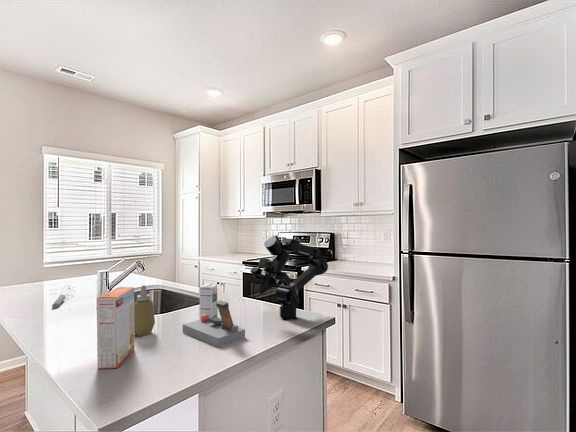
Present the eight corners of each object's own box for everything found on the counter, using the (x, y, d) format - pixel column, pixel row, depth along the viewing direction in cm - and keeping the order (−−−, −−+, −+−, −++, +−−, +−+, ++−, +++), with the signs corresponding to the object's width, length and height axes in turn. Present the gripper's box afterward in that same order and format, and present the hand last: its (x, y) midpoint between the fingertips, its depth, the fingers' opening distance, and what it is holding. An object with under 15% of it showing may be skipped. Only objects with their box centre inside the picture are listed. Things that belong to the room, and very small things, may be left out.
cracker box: (116, 350, 109) (116, 286, 110) (135, 349, 110) (135, 286, 110) (95, 369, 96) (95, 296, 96) (117, 369, 96) (117, 296, 96)
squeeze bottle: (131, 338, 120) (132, 288, 120) (130, 331, 127) (131, 284, 127) (156, 335, 123) (156, 286, 123) (153, 328, 131) (154, 282, 131)
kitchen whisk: (46, 310, 155) (46, 297, 155) (63, 295, 186) (63, 284, 186) (61, 309, 157) (61, 296, 157) (75, 294, 188) (76, 283, 188)
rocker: (218, 322, 129) (219, 319, 130) (224, 324, 127) (224, 321, 127) (207, 321, 126) (208, 318, 126) (213, 323, 123) (214, 320, 124)
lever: (227, 326, 123) (219, 300, 121) (235, 329, 120) (227, 302, 118) (223, 329, 122) (215, 303, 119) (231, 332, 119) (223, 305, 116)
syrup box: (212, 321, 140) (212, 286, 140) (199, 320, 141) (199, 286, 141) (217, 317, 146) (217, 284, 146) (205, 316, 147) (205, 283, 147)
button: (205, 319, 133) (205, 313, 133) (210, 320, 131) (210, 314, 131) (199, 321, 131) (199, 314, 131) (203, 322, 129) (203, 316, 129)
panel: (208, 324, 136) (208, 312, 136) (245, 337, 122) (245, 324, 122) (182, 332, 127) (182, 319, 127) (218, 347, 112) (218, 333, 112)
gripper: (253, 248, 143) (233, 277, 134) (287, 252, 131) (267, 285, 122) (266, 264, 149) (247, 293, 141) (299, 269, 137) (281, 302, 129)
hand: (260, 293), depth 133 cm, fingers closed
